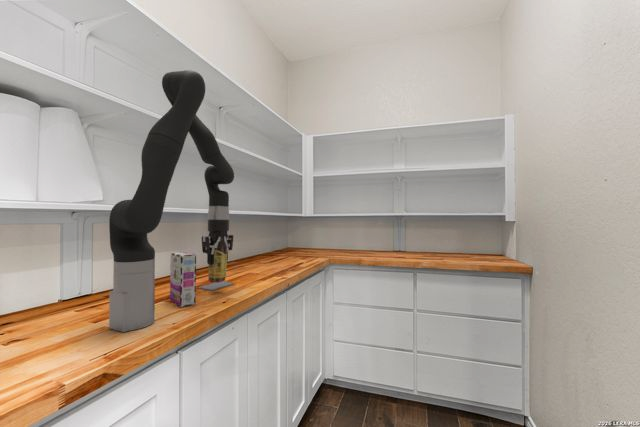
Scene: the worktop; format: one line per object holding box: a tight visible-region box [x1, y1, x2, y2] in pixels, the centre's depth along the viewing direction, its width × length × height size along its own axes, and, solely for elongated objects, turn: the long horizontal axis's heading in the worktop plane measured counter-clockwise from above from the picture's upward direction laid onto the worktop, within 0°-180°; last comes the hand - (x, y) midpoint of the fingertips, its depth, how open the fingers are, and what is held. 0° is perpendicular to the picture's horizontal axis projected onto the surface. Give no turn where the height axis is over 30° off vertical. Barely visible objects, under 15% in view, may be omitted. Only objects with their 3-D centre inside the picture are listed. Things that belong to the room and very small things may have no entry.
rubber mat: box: [197, 281, 235, 292], centre depth 117 cm, size 12×8×1 cm, turn 155°
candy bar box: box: [169, 251, 197, 308], centre depth 95 cm, size 11×5×16 cm, turn 44°
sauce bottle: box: [207, 232, 228, 283], centre depth 107 cm, size 6×6×20 cm
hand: (217, 263), depth 107 cm, fingers closed on sauce bottle, 6 cm apart
